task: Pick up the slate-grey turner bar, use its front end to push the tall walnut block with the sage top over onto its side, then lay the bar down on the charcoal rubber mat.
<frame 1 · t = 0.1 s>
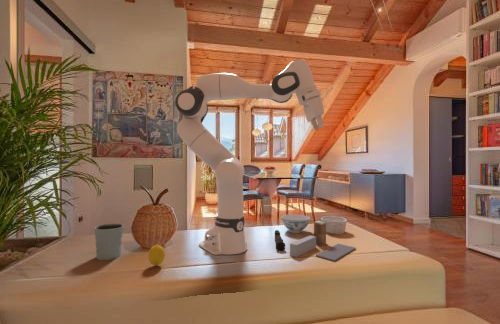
hand: (319, 128, 115), 52 cm above the table, tool tilted 20°, fingers open, 8 cm apart
lemon: (156, 266, 100), on the table
hand tool: (277, 244, 126), on the table
blue-grey cup: (109, 256, 109), on the table
walnut block: (319, 243, 127), on the table
tool mat: (336, 252, 115), on the table
chinaware: (295, 231, 148), on the table
ramekin: (333, 232, 148), on the table
turner bar: (303, 251, 116), on the table
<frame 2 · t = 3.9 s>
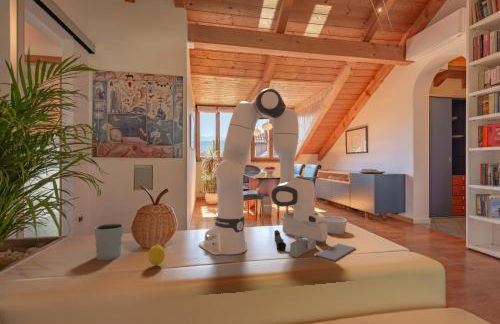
hand: (303, 247, 116), 2 cm above the table, tool pointing down, fingers closed on turner bar, 3 cm apart
turner bar: (303, 251, 116), on the table, touching gripper
everything else where it was.
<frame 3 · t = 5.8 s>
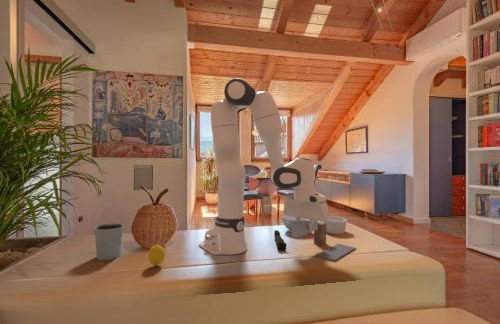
hand: (305, 228, 116), 10 cm above the table, tool pointing down, fingers closed on turner bar, 3 cm apart
turner bar: (305, 232, 116), point 8 cm above the table, touching gripper
everything else where it was.
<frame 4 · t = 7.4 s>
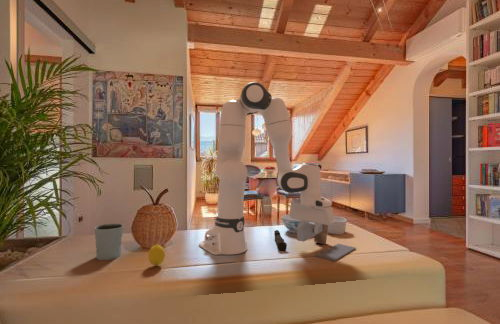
hand: (310, 231, 120), 7 cm above the table, tool pointing down, fingers closed on turner bar, 3 cm apart
walnut block: (320, 242, 127), on the table, tilted 13°
turner bar: (310, 235, 120), point 6 cm above the table, touching gripper
everything else where it was.
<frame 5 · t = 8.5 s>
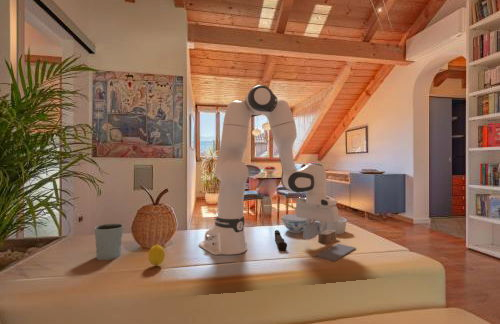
hand: (315, 229, 124), 7 cm above the table, tool pointing down, fingers closed on turner bar, 3 cm apart
walnut block: (322, 238, 128), point 2 cm above the table, tilted 90°
turner bar: (315, 233, 124), point 5 cm above the table, tilted 6°, touching gripper
everything else where it was.
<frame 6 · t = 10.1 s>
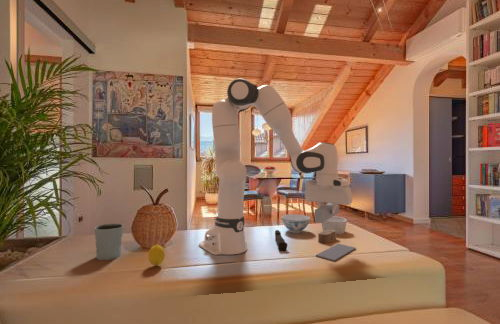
hand: (327, 213, 117), 16 cm above the table, tool pointing down, fingers closed on turner bar, 3 cm apart
turner bar: (327, 217, 117), point 14 cm above the table, tilted 7°, touching gripper
everything else where it was.
when the fingers open (4 cm above the table, at t = 12.5 s): turner bar drops 1 cm, resting on tool mat.
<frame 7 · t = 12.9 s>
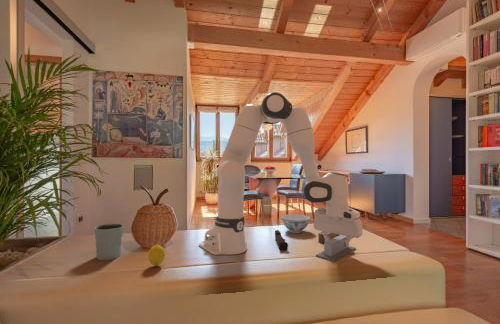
hand: (336, 244, 115), 4 cm above the table, tool pointing down, fingers open, 7 cm apart
turner bar: (336, 250, 115), point 1 cm above the table, touching tool mat
everything else where it was.
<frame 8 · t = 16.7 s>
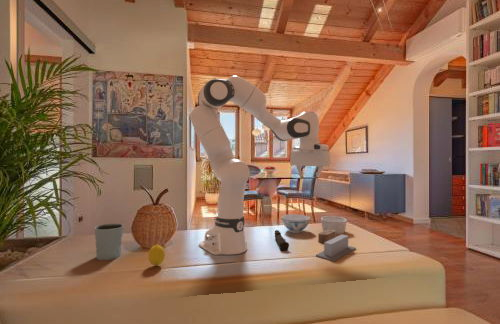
hand: (309, 175, 130), 31 cm above the table, tool pointing down, fingers open, 8 cm apart
nothing on the table moved.
at the end: walnut block tilted 90°; turner bar inside the target area (0.2 cm from its centre), point 0.6 cm above the table; the gripper is holding nothing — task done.
